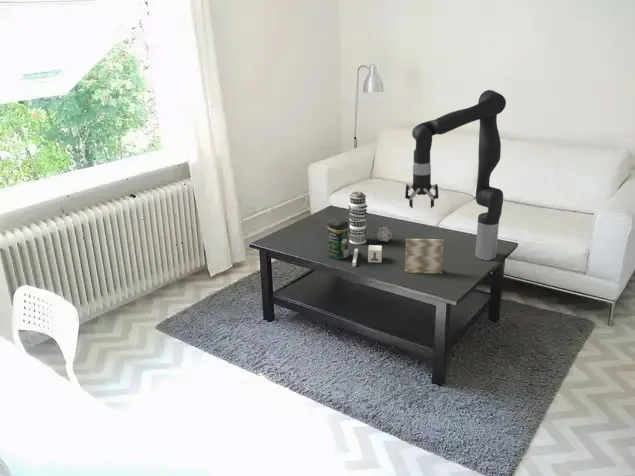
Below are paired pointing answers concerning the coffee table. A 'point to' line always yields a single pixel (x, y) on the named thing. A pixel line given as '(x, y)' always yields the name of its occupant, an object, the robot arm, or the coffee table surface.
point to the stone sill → (355, 257)
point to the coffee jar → (337, 238)
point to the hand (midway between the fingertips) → (421, 207)
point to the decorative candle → (357, 218)
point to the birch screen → (424, 255)
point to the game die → (384, 234)
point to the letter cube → (374, 253)
